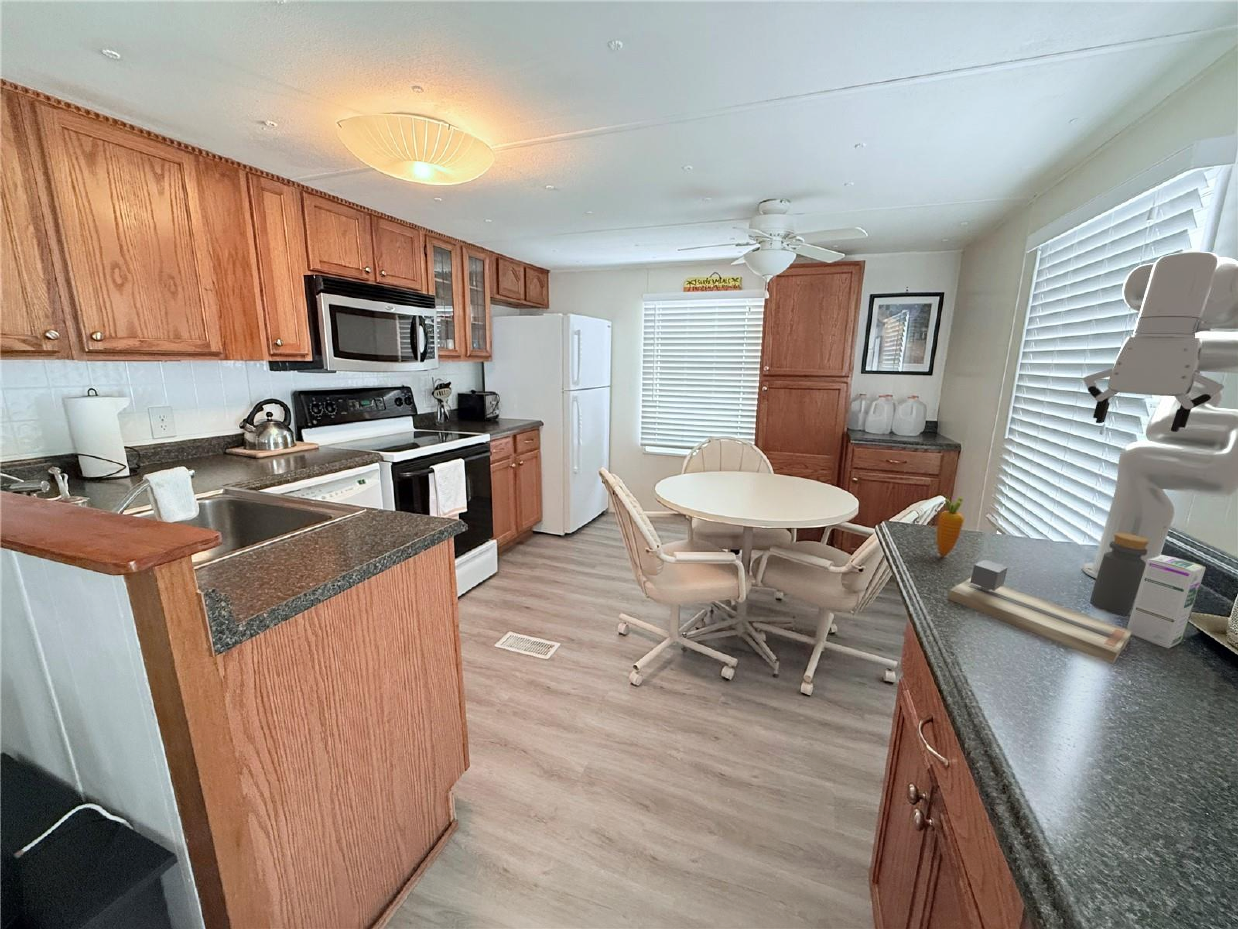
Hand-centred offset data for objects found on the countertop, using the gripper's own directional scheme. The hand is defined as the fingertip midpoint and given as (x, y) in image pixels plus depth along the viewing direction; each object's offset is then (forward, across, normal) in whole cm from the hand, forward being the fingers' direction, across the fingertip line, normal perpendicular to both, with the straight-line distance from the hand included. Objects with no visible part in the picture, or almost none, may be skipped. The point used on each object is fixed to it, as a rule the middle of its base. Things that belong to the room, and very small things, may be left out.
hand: (1135, 426), depth 89 cm
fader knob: (+34, +12, +15) cm, 39 cm away
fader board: (+36, +4, +15) cm, 40 cm away
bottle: (+36, -3, -5) cm, 37 cm away
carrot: (+36, +26, -2) cm, 45 cm away
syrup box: (+36, -10, +3) cm, 38 cm away
